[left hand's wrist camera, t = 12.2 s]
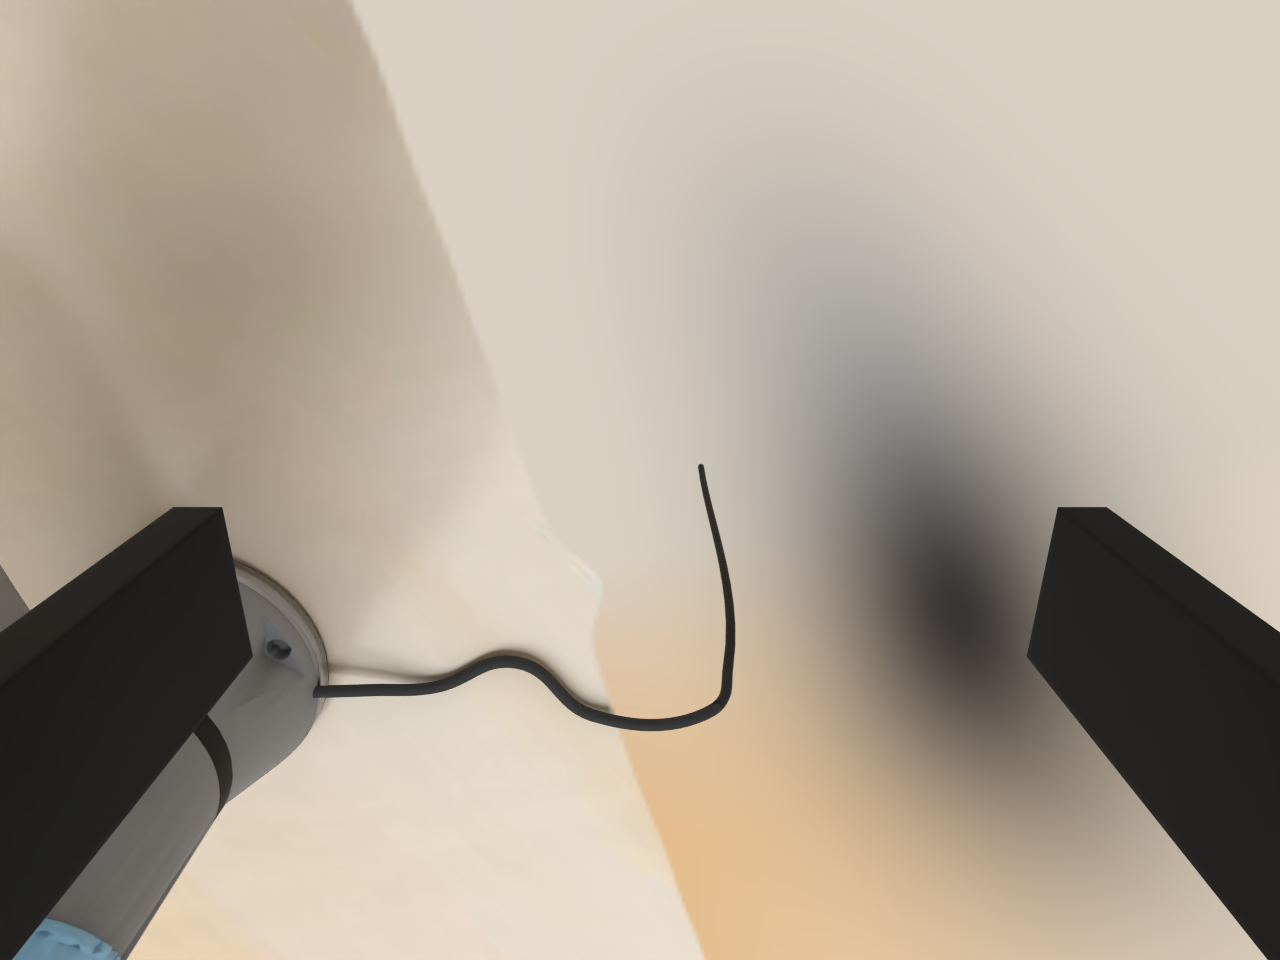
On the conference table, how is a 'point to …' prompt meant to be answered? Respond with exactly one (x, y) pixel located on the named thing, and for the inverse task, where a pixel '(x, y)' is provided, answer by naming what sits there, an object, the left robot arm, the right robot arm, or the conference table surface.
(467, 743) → the conference table surface
